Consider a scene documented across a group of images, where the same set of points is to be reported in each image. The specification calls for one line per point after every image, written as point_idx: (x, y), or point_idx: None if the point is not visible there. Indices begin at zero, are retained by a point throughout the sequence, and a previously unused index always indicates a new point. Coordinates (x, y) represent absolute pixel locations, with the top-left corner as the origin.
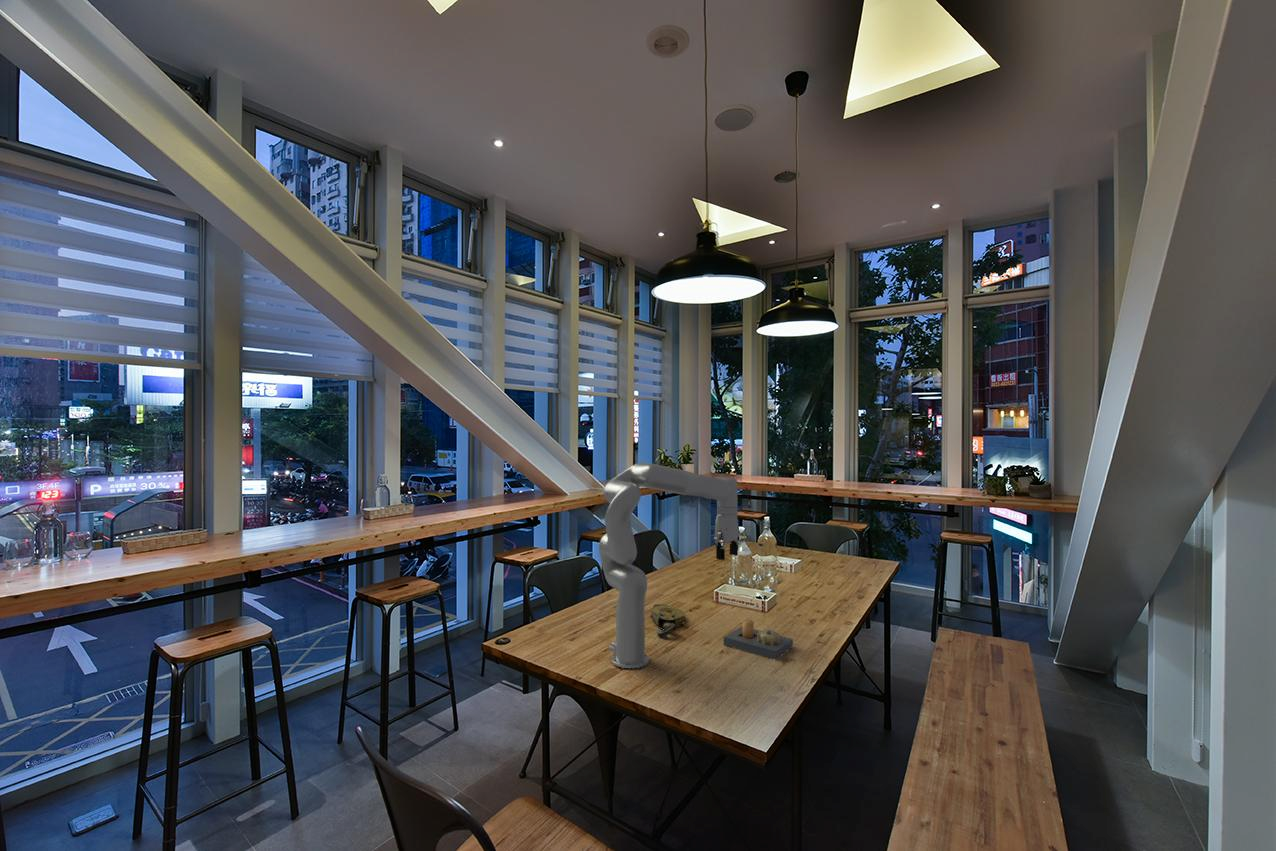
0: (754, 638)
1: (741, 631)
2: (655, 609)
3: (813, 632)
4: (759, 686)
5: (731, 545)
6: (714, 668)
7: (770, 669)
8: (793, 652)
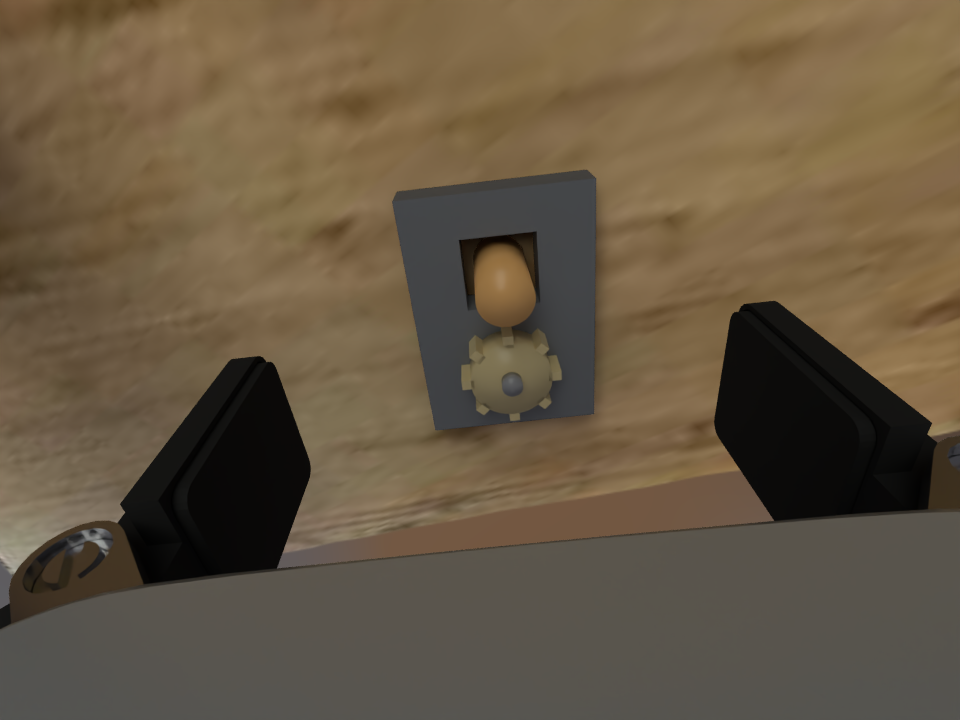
0: None
1: (522, 221)
2: None
3: None
4: None
5: (833, 457)
6: (189, 309)
7: (360, 432)
8: None
